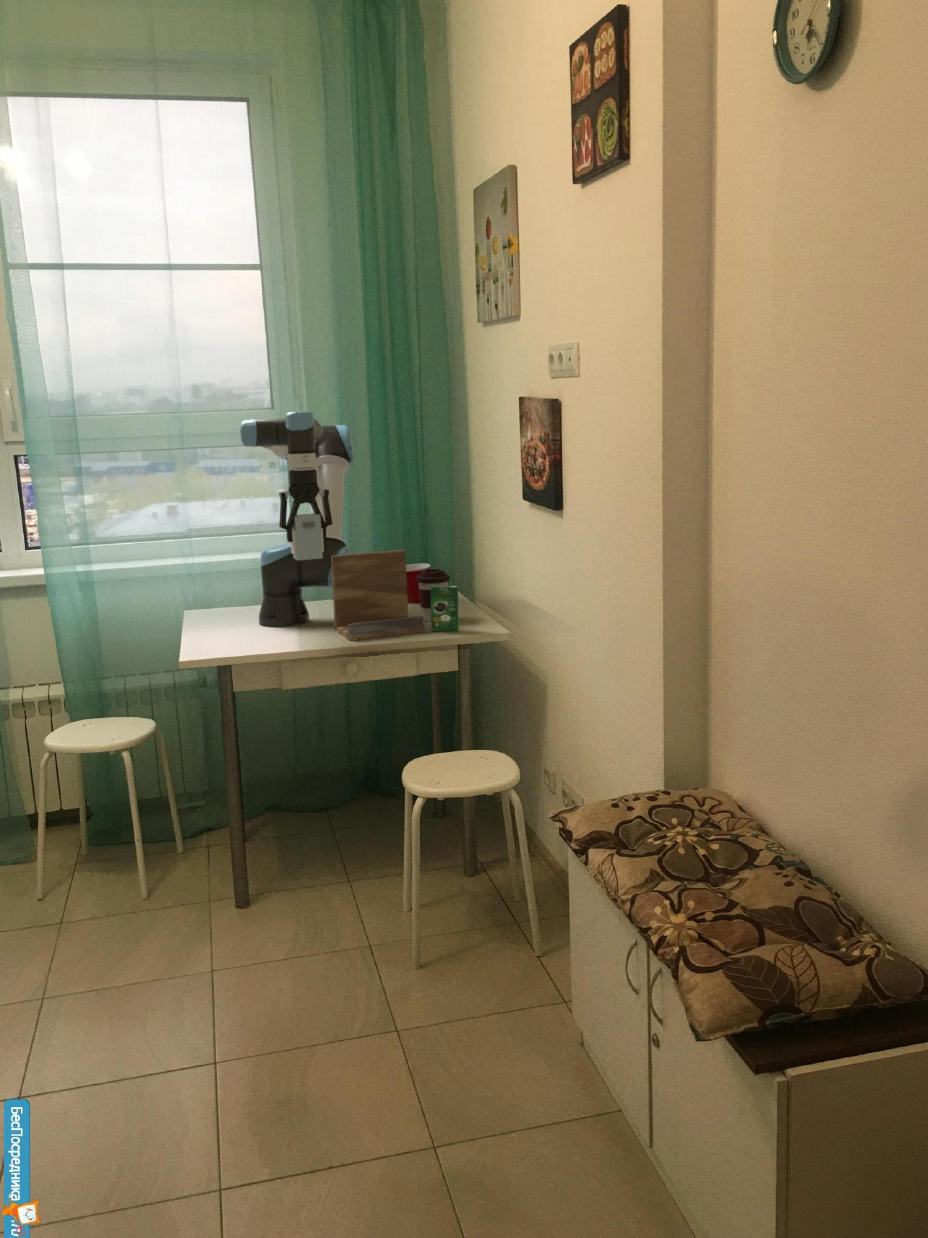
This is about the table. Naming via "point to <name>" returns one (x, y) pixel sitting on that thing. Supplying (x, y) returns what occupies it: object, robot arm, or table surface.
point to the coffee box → (444, 608)
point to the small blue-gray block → (308, 536)
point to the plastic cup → (414, 581)
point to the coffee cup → (425, 582)
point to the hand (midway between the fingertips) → (307, 552)
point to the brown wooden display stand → (372, 595)
